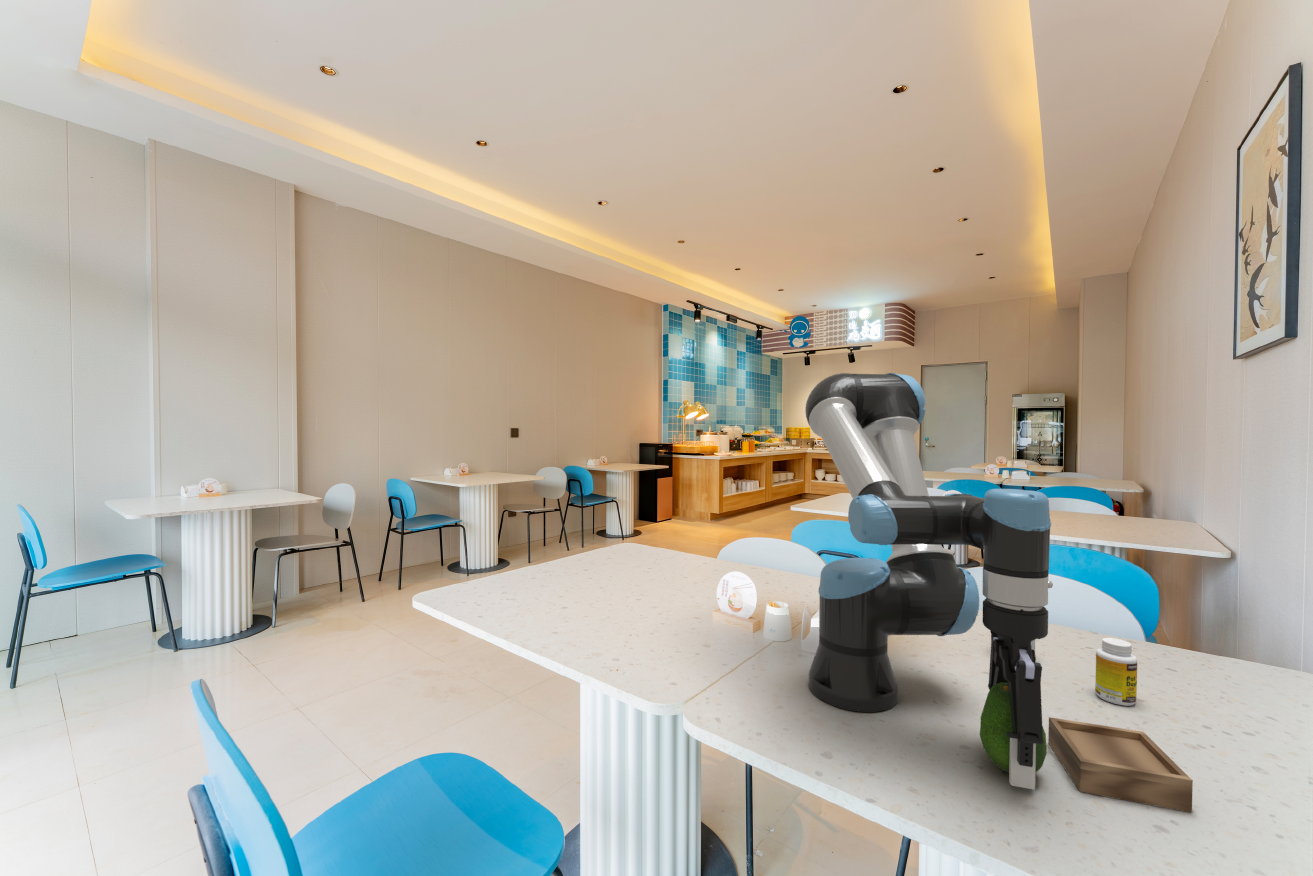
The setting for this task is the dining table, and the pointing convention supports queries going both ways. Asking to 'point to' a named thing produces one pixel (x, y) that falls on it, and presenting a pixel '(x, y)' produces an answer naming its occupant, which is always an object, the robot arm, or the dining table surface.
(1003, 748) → the avocado
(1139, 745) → the wooden tray
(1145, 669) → the dining table surface
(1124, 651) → the supplement bottle
